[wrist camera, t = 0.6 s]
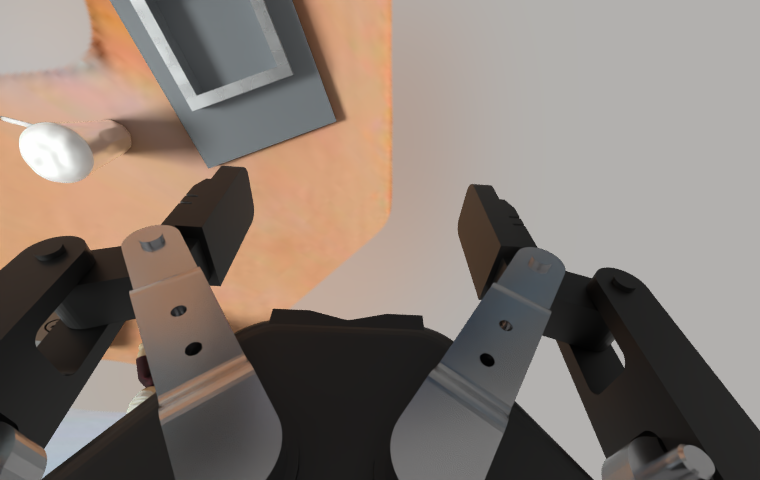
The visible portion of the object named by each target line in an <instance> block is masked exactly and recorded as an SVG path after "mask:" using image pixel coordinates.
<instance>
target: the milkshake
mask: <svg viewBox="0 0 760 480" xmlns="http://www.w3.org/2000/svg"><path fill="white" fill-rule="evenodd" d="M0 120H1V121H5V122H9V123H13V124H17V125H21V126H25V127H28V128H26V129H25V130H24V131H23V132H22V134H21V135H20V138H19V148H20V152H21V155H22V157H23V159H24V160H25V161H26V163H27V164H28V165H29V166H30V167H31V168H32V169H33V170H34V171H35V172H36V173H37V174H38V175H40V176H41V177H43V178H45V179H47V180H50V181H55V182H62V183H74V182H78V181H80V180H82V179H84V178H86V177H87V176H89V175H90V174H92V173H93V172H95V171H96V170H98V169H99V168H101V167H102V166H104V165H106V164H108V163H109V162H111V161H113V160H114V159H116V158H118V157H119V156H121V155H123V154H124V153H126V151H127V150H128V149H129V148H130V147H131V146H132V143H131V135H130V133H129V132H128V131H127V130H126V128H125V127H124V126H123V125H121V124H119V123H117V122H115V121H113V120H101V121H87V122H41V123H36V124H31V123H27V122H23V121H19V120H15V119H11V118H7V117H3V116H0Z"/></svg>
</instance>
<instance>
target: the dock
mask: <svg viewBox="0 0 760 480" xmlns="http://www.w3.org/2000/svg"><path fill="white" fill-rule="evenodd" d="M110 1H111V3H112V5H113V7H114V8H115V10H116V12H117V13H118V15H119V17H120V18H121V20H122V22H123V24H124V25H125V27H126V29H127V30H128V32H129V34H130V36H131V37H132V39H133V41H134V42H135V44H136V46H137V47H138V49H139V51H140V53H141V54H142V56H143V58H144V59H145V61H146V63H147V64H148V66H149V68H150V70H151V71H152V73H153V75H154V76H155V78H156V80H157V82H158V83H159V85H160V87H161V88H162V90H163V92H164V93H165V95H166V97H167V99H168V100H169V102H170V104H171V105H172V107H173V109H174V110H175V112H176V114H177V116H178V117H179V119H180V121H181V122H182V124H183V126H184V128H185V129H186V131H187V133H188V134H189V136H190V138H191V139H192V141H193V143H194V145H195V146H196V148H197V150H198V151H199V153H200V155H201V156H202V158H203V160H204V162H205V163H206V165H207V167H208V168H211V167H214V166H217V165H219V164H222V163H225V162H228V161H230V160H233V159H236V158H238V157H241V156H244V155H247V154H249V153H252V152H255V151H257V150H260V149H263V148H265V147H268V146H271V145H274V144H276V143H279V142H282V141H284V140H287V139H290V138H293V137H295V136H298V135H301V134H303V133H306V132H309V131H312V130H314V129H317V128H320V127H322V126H325V125H328V124H330V123H333V122H336V119H335V116H334V113H333V110H332V108H331V105H330V102H329V100H328V97H327V94H326V91H325V89H324V86H323V83H322V80H321V78H320V75H319V72H318V70H317V67H316V64H315V61H314V59H313V56H312V53H311V50H310V48H309V45H308V42H307V40H306V37H305V34H304V31H303V29H302V26H301V23H300V20H299V18H298V15H297V12H296V10H295V7H294V4H293V1H292V0H110Z"/></svg>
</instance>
